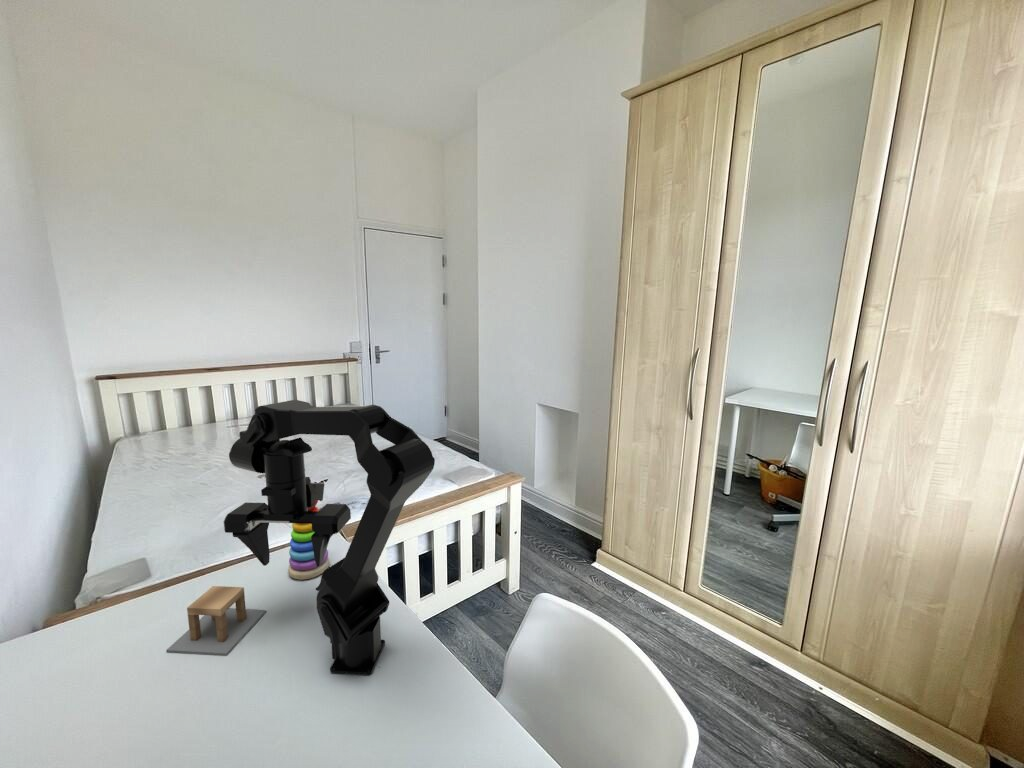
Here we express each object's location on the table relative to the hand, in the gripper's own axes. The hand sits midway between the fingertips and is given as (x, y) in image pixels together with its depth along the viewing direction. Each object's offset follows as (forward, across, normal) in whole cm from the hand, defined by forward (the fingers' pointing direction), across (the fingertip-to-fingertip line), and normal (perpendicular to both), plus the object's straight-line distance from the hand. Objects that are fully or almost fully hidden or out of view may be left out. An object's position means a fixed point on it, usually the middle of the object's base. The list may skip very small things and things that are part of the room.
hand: (293, 564), depth 71 cm
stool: (+11, +13, +2) cm, 17 cm away
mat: (+12, +13, +2) cm, 17 cm away
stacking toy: (+12, +7, -16) cm, 21 cm away
